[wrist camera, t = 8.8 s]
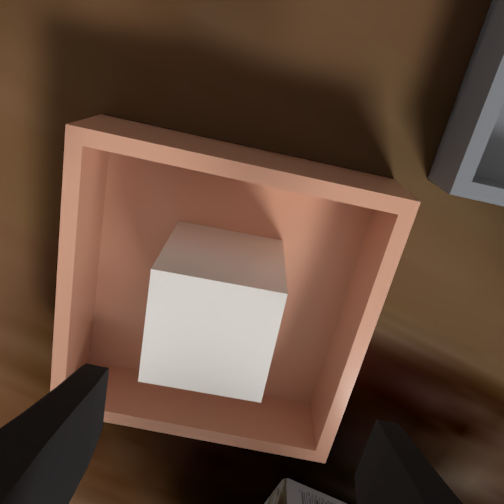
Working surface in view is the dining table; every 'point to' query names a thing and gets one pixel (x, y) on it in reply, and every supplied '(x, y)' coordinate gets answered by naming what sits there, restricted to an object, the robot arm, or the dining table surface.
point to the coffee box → (298, 494)
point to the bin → (233, 219)
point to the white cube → (214, 312)
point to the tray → (477, 122)
